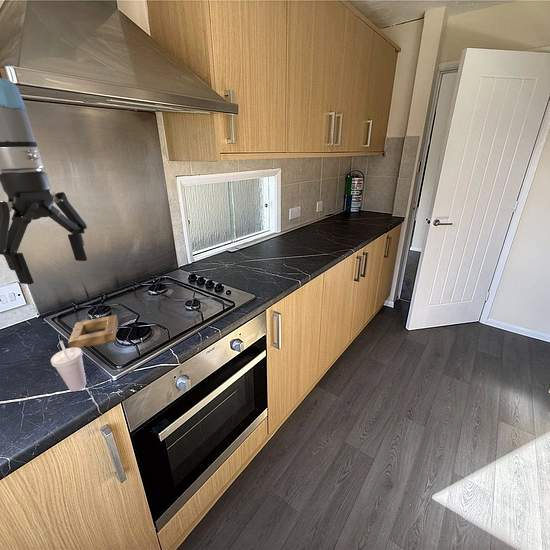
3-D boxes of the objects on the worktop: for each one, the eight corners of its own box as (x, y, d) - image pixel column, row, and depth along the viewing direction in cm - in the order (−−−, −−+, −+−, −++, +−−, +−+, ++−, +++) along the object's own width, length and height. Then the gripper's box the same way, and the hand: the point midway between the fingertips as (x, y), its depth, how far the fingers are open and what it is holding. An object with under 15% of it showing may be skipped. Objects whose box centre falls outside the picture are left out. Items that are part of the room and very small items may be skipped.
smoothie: (64, 399, 70) (44, 352, 65) (61, 384, 75) (43, 339, 69) (94, 386, 74) (78, 341, 68) (90, 373, 79) (74, 329, 73)
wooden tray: (70, 350, 88) (67, 342, 87) (79, 330, 98) (76, 322, 97) (114, 340, 92) (112, 332, 91) (118, 322, 102) (116, 314, 101)
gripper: (-40, 176, 46) (12, 297, 54) (88, 167, 68) (111, 253, 76) (-74, 177, 47) (-18, 294, 56) (62, 167, 70) (87, 252, 78)
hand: (56, 270), depth 66 cm, fingers open, 13 cm apart
